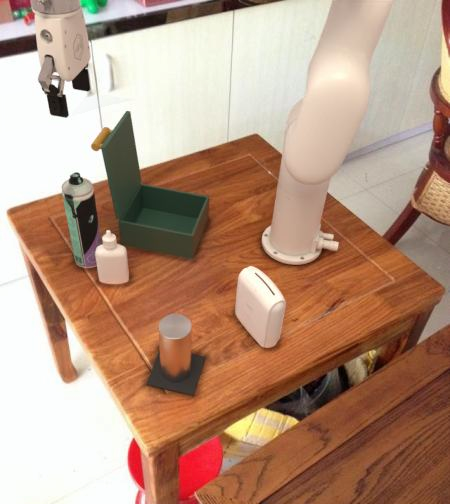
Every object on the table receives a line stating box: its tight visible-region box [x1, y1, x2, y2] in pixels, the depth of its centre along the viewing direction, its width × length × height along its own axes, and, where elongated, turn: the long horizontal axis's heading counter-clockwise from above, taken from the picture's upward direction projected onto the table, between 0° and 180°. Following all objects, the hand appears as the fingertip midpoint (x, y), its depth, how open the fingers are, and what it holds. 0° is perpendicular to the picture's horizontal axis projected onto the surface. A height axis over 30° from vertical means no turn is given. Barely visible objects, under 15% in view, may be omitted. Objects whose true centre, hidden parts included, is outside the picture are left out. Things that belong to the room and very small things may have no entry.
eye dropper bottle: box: [95, 229, 130, 285], centre depth 103 cm, size 4×6×12 cm
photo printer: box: [234, 265, 287, 349], centre depth 96 cm, size 10×4×12 cm, turn 32°
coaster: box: [145, 349, 207, 397], centre depth 94 cm, size 8×8×1 cm
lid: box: [90, 110, 142, 221], centre depth 107 cm, size 16×13×5 cm
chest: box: [117, 183, 210, 260], centre depth 115 cm, size 15×13×6 cm
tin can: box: [158, 313, 193, 383], centre depth 89 cm, size 5×5×12 cm
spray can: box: [61, 171, 103, 269], centre depth 103 cm, size 6×6×20 cm
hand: (71, 102), depth 99 cm, fingers open, 9 cm apart
